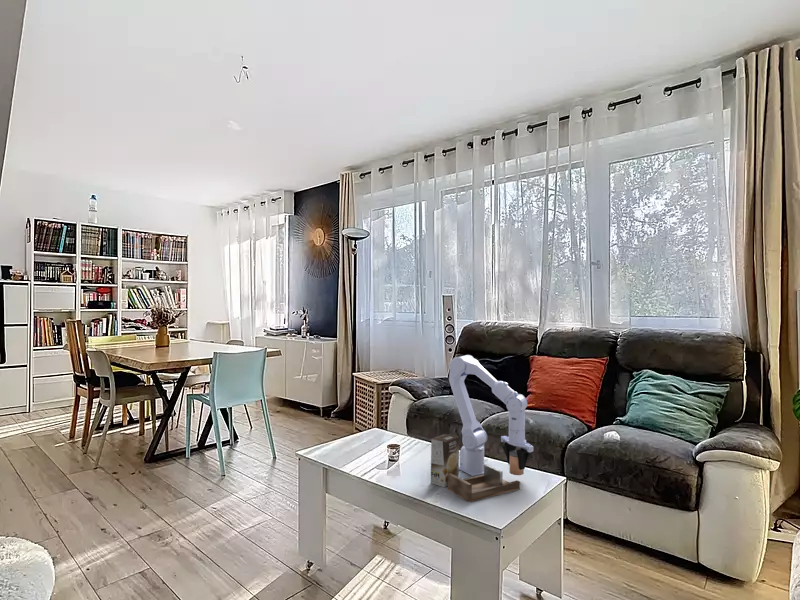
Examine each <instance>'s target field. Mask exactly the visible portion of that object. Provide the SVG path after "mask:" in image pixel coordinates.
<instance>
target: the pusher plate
mask: <svg viewBox="0 0 800 600" xmlns="http://www.w3.org/2000/svg"><path fill="white" fill-rule="evenodd" d="M503 480H504V479H503V471H502V470H500V469H498V468H496V467H494V466H492V465H489V464H488V463H484V482H486V483H488V484H490V485H492V486H497V485H501V484H502V481H503Z"/></svg>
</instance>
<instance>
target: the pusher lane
mask: <svg viewBox="0 0 800 600" xmlns="http://www.w3.org/2000/svg"><path fill="white" fill-rule="evenodd" d="M520 482H521V481H519V480H518V479H517V480H514V481H507V480H506V479H503V481H502V484H501V485H497V486H492V485H490V484H488V483H486V482H484V474H480V475H476V476H470V477H467V478H461V477H457V476H455V475H453V474H451V473H450V474H448V486H447V490H448V491H450V492H451V493H452V494H454V495H456V496H458V497H459V498H462V499H463V500H465V501H466V502H468V503H472V502H475V501H476V502H477V501H479V500H483V499H487V498H491V497H494V496H499V495H503V494H506V493H511V492H514V491H518V490H521V483H520Z"/></svg>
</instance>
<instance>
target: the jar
mask: <svg viewBox="0 0 800 600" xmlns="http://www.w3.org/2000/svg"><path fill="white" fill-rule="evenodd" d="M516 450H517V449H516ZM516 450H510V451H509V455H510V465H509V472H508V473H510V474H511V475H514V476H523V475H524V474H525V472H524V470H525V469H522V470H520V469H519V461H518V455H517V452H516Z"/></svg>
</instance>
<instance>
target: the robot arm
mask: <svg viewBox="0 0 800 600" xmlns="http://www.w3.org/2000/svg"><path fill="white" fill-rule="evenodd" d="M448 368H449V376H448V382H449V385H450V387H451V391H452V393H453V394H452V395H453V398H454V401H455V403H456V408H457V410H458V413H459V416H460V419H461V422H462V429H461V435H462V437H461V438H462V439H461V442H462V444H463V445H462V446H461V448H460V449H459V471H462V472H464V473H466V474H468V475H470V476H471V477H474V476H479V475H483V474H484V464H485V444H486V442H487V441H488V434H487V432H486V430H484V428H483V426H482V423H480V422H479V421H478V420H477V417H476V415H475V411H474V408H473V405H472V403H471V399H470V397H469V396H470V395H469V393H468V390H467V386H466V384H465V380H466V378H467V376H468V375H475V376H476V377H477V378H479V379H480V380H481V381H482V382H484V383H485V384H486V385H488V386H489V387H490V388H491V393H492V394H494V395H495V397H496V398H497V399H499V400H500V401H501V402H503V404H504V405H506V406H505V407H506V409H507V411H508V436H507V435H501V436H500V442H501V443H503V444H502V445H501V447H502V450H503V451H504V454H505V456H506V461H507V465H509V466H510V455H509V451H510V450H516V452H517V455H518V461H519V469H520V470H522V469H524V470H525V469H526V465H527V462H528V459H529V457H530V455H532V454H531V453H532V452H534V445H532V444H530V443H529V442H527V439H526V408H527V406H528V399H527V398H526V397H525V395H524V394H521V393H518V392H517V391H515V390H514V389H512V388H511V387H510V386H509V383H508V382H506V381H503V380H497V379H496V378H495V377H494V376H493V375H492V374H491V373H490V372H489V371H488V370H487V369H486V368H484V366H483V365H482V364H481V363H480V362H479V360H478V359H476V358H474V356H473V355H471V354H465V355H461V356H455V357H453V358H452V359H451V361H450V363H449V364H448ZM517 448H519V449H517Z"/></svg>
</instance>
